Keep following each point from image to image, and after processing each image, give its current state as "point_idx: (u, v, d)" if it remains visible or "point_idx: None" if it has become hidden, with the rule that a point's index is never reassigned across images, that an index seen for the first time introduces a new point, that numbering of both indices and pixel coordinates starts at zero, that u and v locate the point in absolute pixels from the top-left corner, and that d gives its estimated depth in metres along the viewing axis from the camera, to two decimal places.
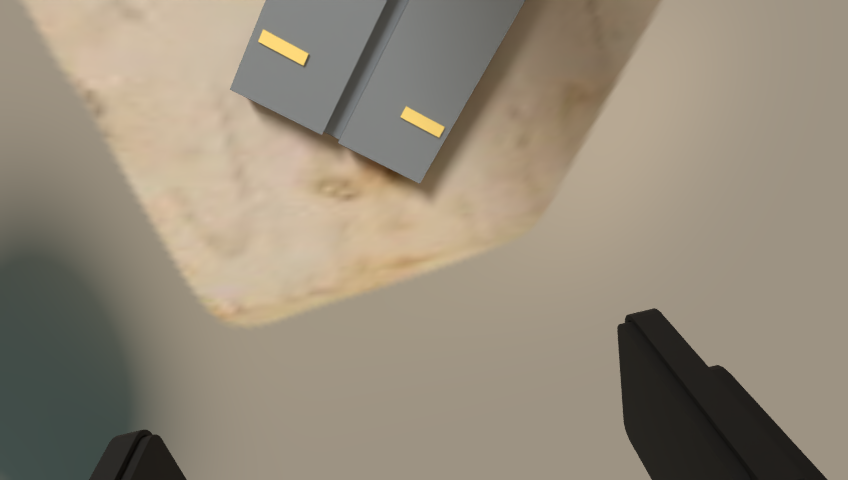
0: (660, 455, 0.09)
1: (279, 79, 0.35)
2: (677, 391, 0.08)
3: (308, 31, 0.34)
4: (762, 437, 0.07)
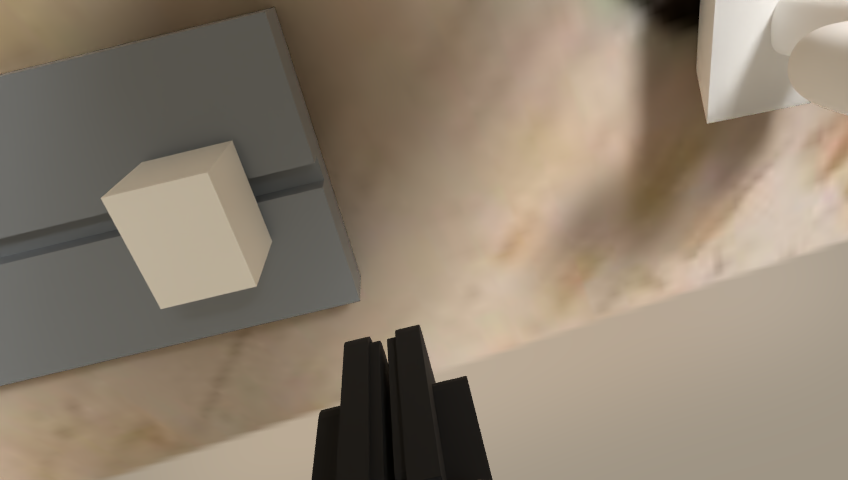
0: None
1: None
2: (395, 400, 0.09)
3: None
4: (429, 441, 0.08)
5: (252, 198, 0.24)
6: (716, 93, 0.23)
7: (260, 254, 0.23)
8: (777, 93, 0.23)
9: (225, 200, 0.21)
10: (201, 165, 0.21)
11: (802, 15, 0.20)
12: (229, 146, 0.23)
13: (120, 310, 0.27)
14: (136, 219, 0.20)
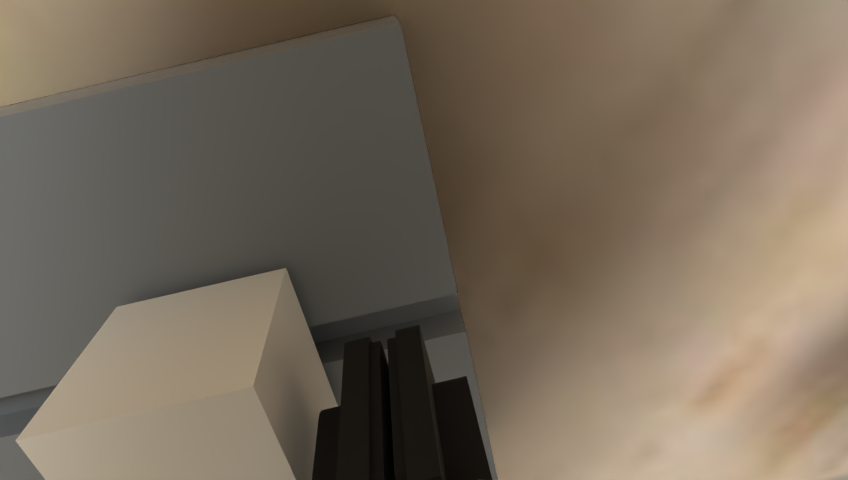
0: None
1: None
2: (396, 400, 0.09)
3: None
4: (429, 441, 0.08)
5: (318, 364, 0.13)
6: None
7: None
8: None
9: (284, 422, 0.10)
10: (236, 350, 0.10)
11: None
12: (282, 284, 0.12)
13: None
14: (96, 474, 0.09)
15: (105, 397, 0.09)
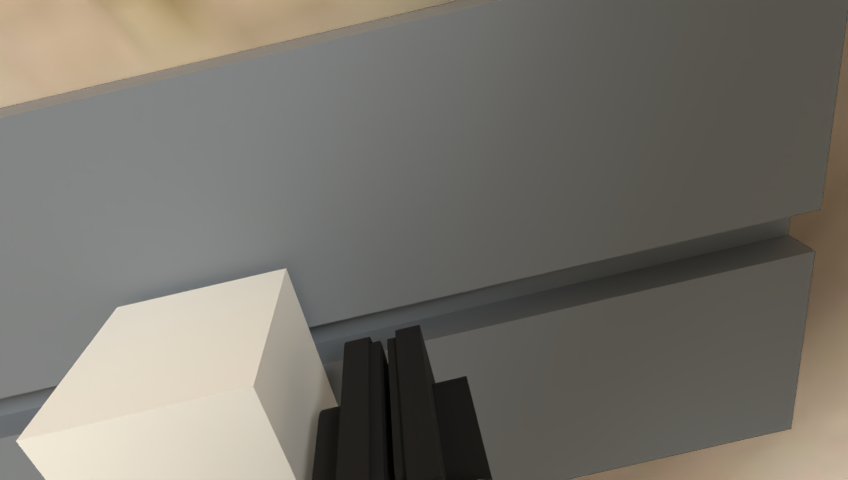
0: None
1: None
2: (396, 400, 0.09)
3: None
4: (429, 441, 0.08)
5: (318, 364, 0.13)
6: None
7: None
8: None
9: (284, 422, 0.10)
10: (236, 350, 0.10)
11: None
12: (283, 284, 0.12)
13: None
14: (96, 475, 0.09)
15: (105, 397, 0.09)
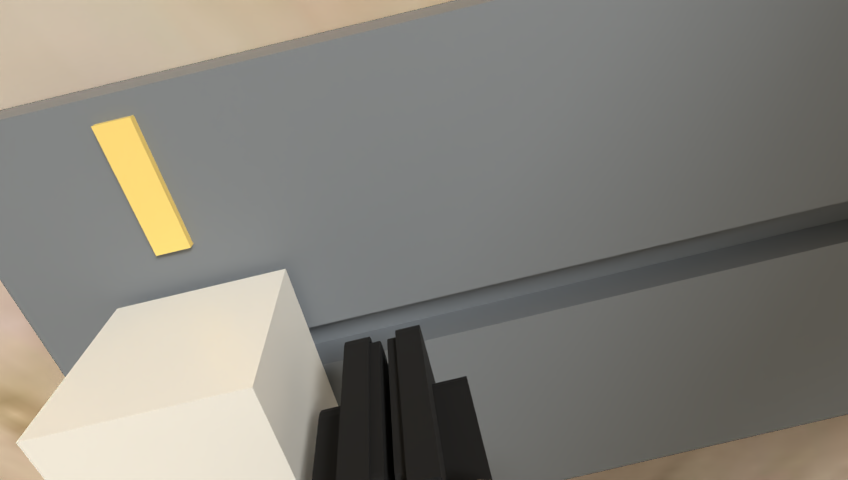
0: None
1: (71, 229, 0.12)
2: (395, 400, 0.09)
3: (235, 209, 0.12)
4: (429, 441, 0.08)
5: (318, 364, 0.13)
6: None
7: None
8: None
9: (283, 423, 0.10)
10: (235, 351, 0.10)
11: None
12: (282, 285, 0.12)
13: (643, 397, 0.16)
14: (96, 476, 0.09)
15: (105, 399, 0.09)
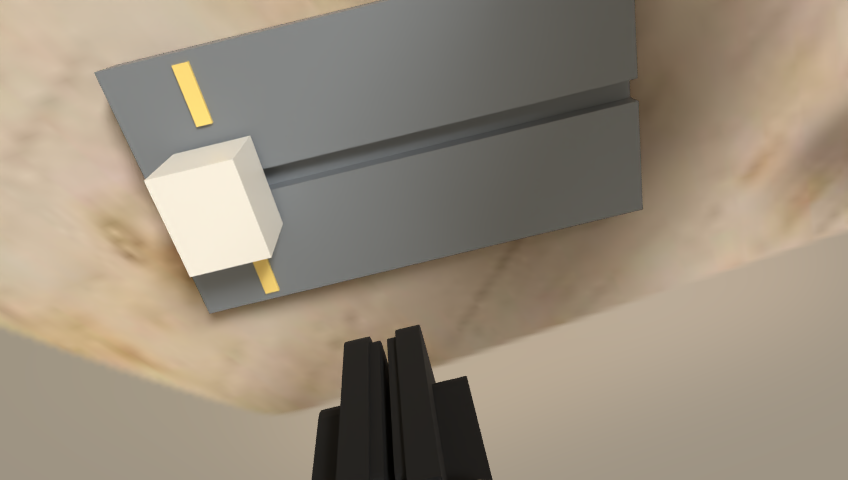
0: None
1: (159, 114, 0.27)
2: (396, 400, 0.09)
3: (232, 105, 0.27)
4: (429, 441, 0.08)
5: (266, 185, 0.28)
6: None
7: (273, 232, 0.27)
8: None
9: (246, 183, 0.25)
10: (226, 154, 0.25)
11: None
12: (248, 140, 0.27)
13: (443, 214, 0.30)
14: (172, 199, 0.24)
15: (175, 169, 0.24)
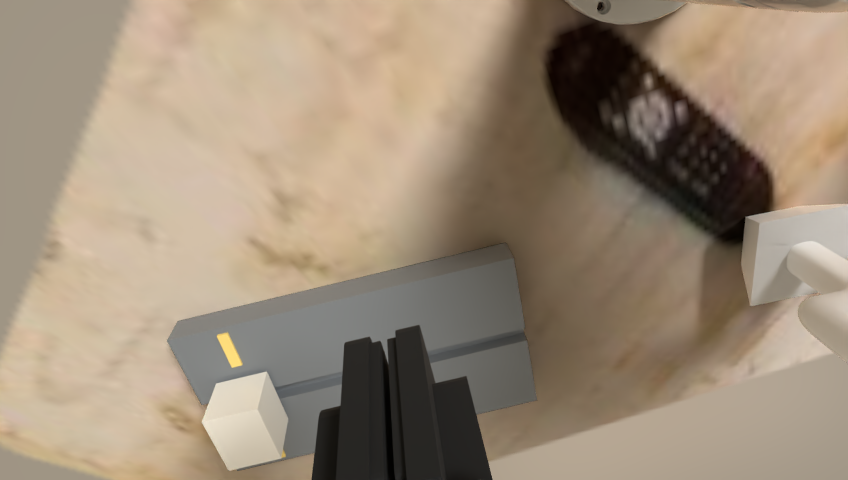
0: None
1: (207, 360, 0.41)
2: (395, 400, 0.09)
3: (255, 354, 0.41)
4: (429, 441, 0.08)
5: (277, 399, 0.42)
6: (756, 292, 0.41)
7: (282, 435, 0.41)
8: (790, 290, 0.41)
9: (265, 417, 0.39)
10: (253, 399, 0.39)
11: (804, 264, 0.38)
12: (265, 377, 0.41)
13: None
14: (219, 430, 0.38)
15: (221, 411, 0.38)
